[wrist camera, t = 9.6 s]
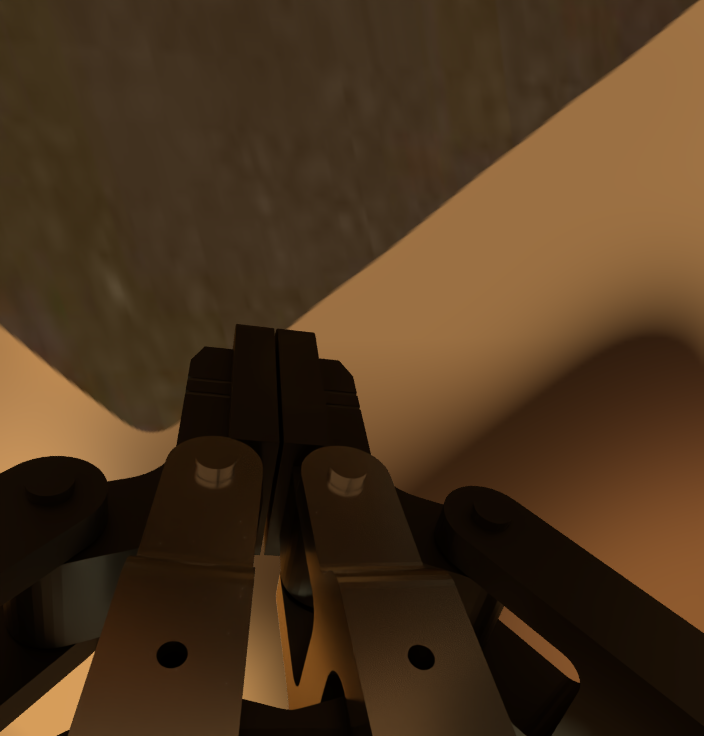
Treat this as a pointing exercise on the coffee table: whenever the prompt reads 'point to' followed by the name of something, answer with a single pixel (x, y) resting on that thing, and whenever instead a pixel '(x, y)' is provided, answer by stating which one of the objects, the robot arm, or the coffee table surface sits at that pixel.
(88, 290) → the coffee table surface
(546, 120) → the coffee table surface
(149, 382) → the coffee table surface
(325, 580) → the robot arm
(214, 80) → the coffee table surface
